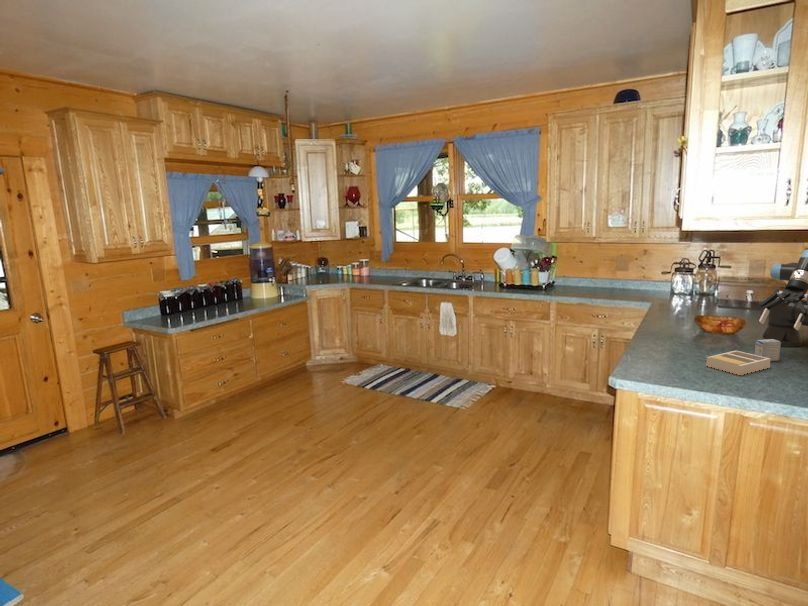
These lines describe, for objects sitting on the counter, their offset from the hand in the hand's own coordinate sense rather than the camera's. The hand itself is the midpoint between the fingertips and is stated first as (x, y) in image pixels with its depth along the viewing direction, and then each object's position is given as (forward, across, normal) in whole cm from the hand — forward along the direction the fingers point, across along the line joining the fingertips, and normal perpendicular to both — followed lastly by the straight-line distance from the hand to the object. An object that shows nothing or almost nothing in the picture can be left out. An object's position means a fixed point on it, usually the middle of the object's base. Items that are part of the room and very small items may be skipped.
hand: (777, 325), depth 209 cm
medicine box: (+14, -1, +6) cm, 16 cm away
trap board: (+25, -1, -10) cm, 27 cm away
